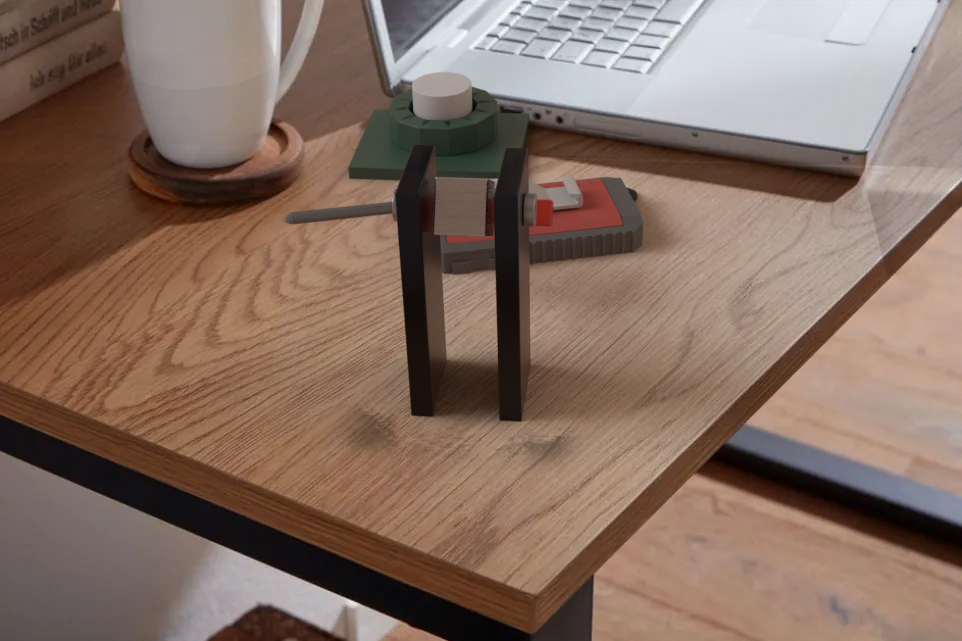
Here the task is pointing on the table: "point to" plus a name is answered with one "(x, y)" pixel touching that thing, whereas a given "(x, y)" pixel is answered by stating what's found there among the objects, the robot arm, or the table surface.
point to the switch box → (438, 140)
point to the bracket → (426, 285)
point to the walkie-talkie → (575, 231)
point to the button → (442, 96)
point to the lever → (473, 207)
